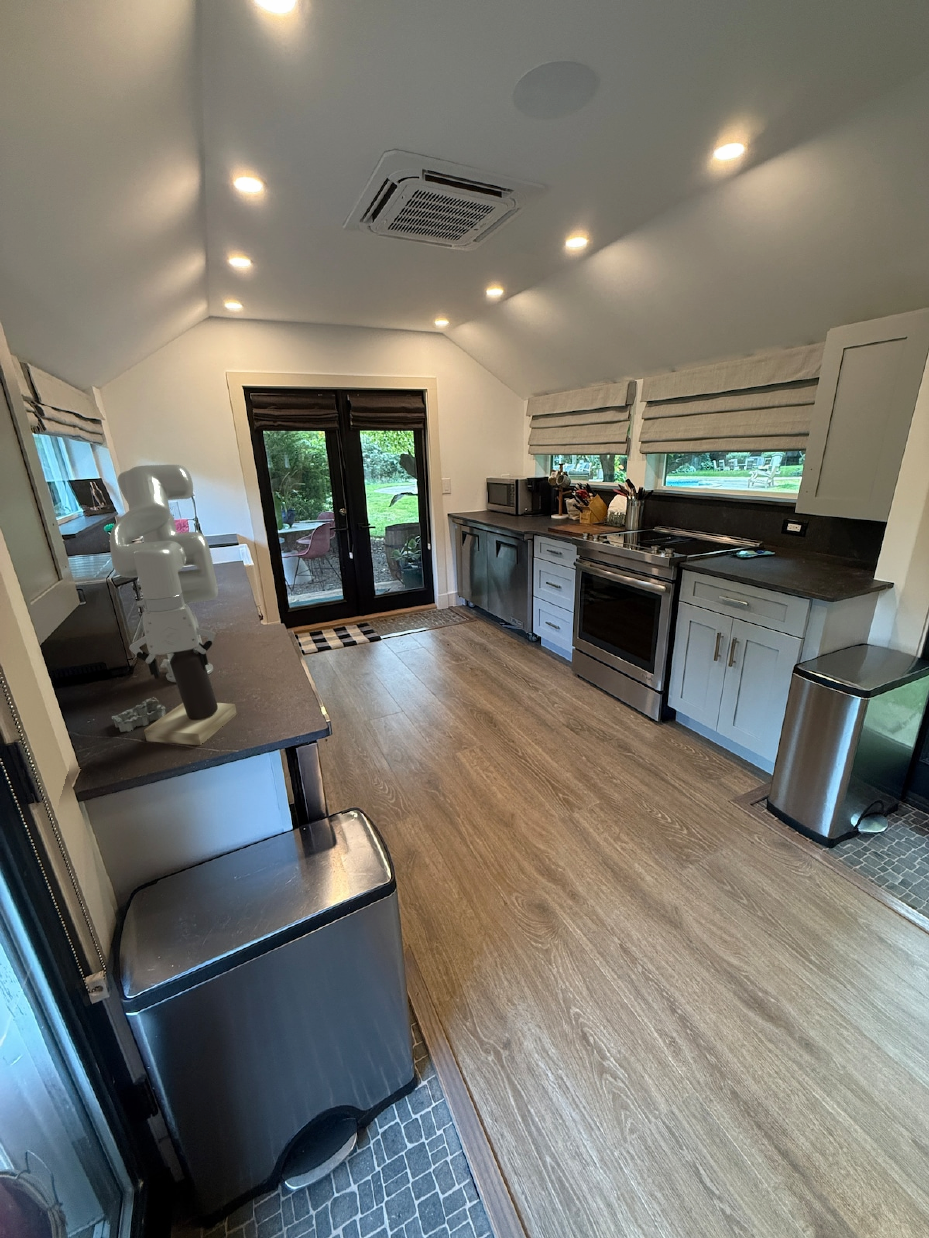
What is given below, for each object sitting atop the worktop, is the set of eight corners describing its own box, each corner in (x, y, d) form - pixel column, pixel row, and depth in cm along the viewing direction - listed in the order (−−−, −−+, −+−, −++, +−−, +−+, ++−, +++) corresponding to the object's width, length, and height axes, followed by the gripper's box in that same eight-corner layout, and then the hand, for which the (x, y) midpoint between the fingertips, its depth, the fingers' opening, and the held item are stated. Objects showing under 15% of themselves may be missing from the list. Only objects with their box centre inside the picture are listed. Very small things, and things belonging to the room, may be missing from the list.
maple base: (146, 741, 115) (143, 729, 114) (187, 711, 128) (185, 700, 127) (200, 745, 112) (198, 733, 111) (236, 714, 125) (234, 703, 124)
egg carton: (160, 709, 130) (156, 695, 128) (169, 718, 125) (166, 704, 124) (112, 724, 122) (108, 710, 121) (121, 735, 118) (116, 720, 116)
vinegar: (202, 722, 116) (177, 644, 109) (181, 718, 118) (156, 642, 111) (224, 707, 122) (202, 633, 115) (204, 704, 124) (181, 631, 117)
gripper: (116, 613, 103) (135, 686, 108) (207, 601, 110) (221, 670, 116) (121, 604, 109) (140, 673, 115) (208, 593, 116) (221, 659, 122)
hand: (181, 672), depth 115 cm, fingers open, 9 cm apart
